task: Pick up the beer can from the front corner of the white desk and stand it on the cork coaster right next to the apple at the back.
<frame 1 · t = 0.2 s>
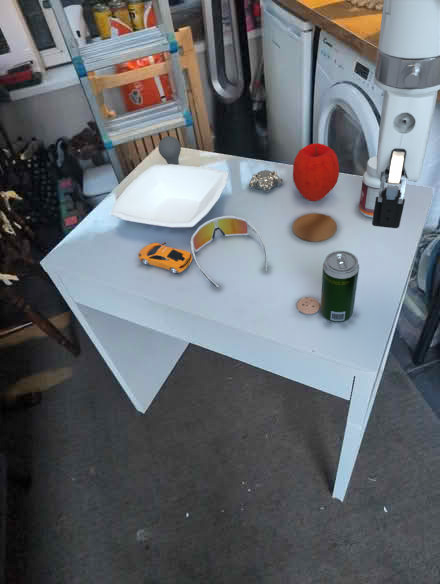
hand: (388, 202, 57), 22 cm above the table, tool pointing down, fingers open, 9 cm apart
pill bottle: (373, 210, 92), on the table
light bulb: (175, 174, 113), on the table
sunglasses: (229, 257, 88), on the table
coaster: (314, 228, 90), on the table
ornament: (265, 188, 103), on the table
beer can: (336, 313, 74), on the table
bowl: (176, 213, 101), on the table
toy car: (165, 262, 89), on the table
cookie: (308, 307, 76), on the table
apple: (314, 197, 98), on the table
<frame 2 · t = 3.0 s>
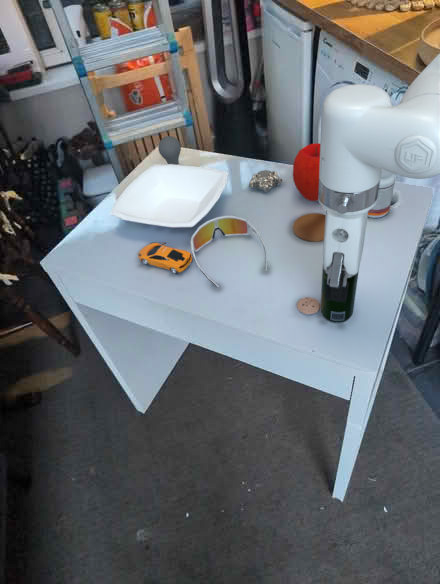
hand: (339, 284, 69), 7 cm above the table, tool pointing down, fingers closed on beer can, 5 cm apart
beer can: (336, 313, 74), on the table, touching gripper
everything else where it was.
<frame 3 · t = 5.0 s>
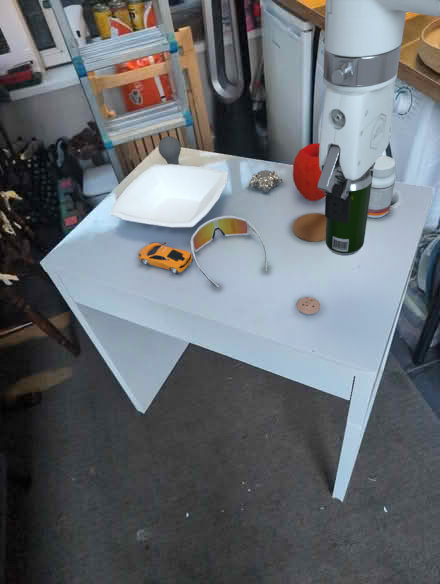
hand: (347, 205, 58), 22 cm above the table, tool pointing down, fingers closed on beer can, 5 cm apart
beer can: (344, 245, 63), point 15 cm above the table, touching gripper
everything else where it was.
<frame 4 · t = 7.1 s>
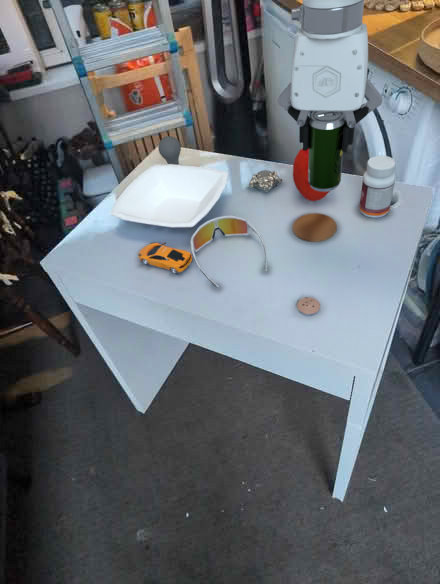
hand: (325, 146, 68), 23 cm above the table, tool pointing down, fingers closed on beer can, 5 cm apart
beer can: (324, 184, 74), point 16 cm above the table, touching gripper
everything else where it was.
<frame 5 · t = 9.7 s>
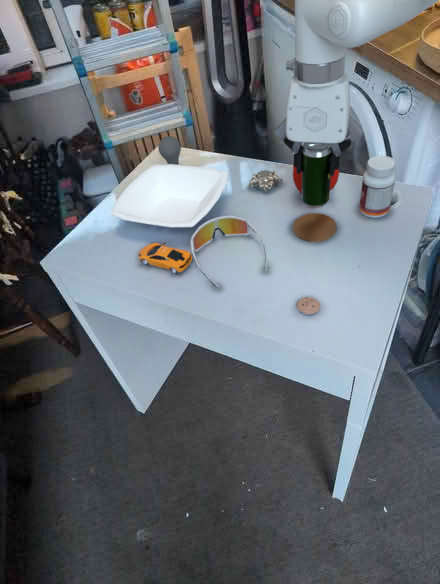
hand: (316, 170, 80), 14 cm above the table, tool pointing down, fingers closed on beer can, 5 cm apart
beer can: (315, 201, 85), point 7 cm above the table, touching gripper
everything else where it was.
when the fingers open (7 cm above the table, at t = 11.7 s): beer can stays where it is, resting on coaster.
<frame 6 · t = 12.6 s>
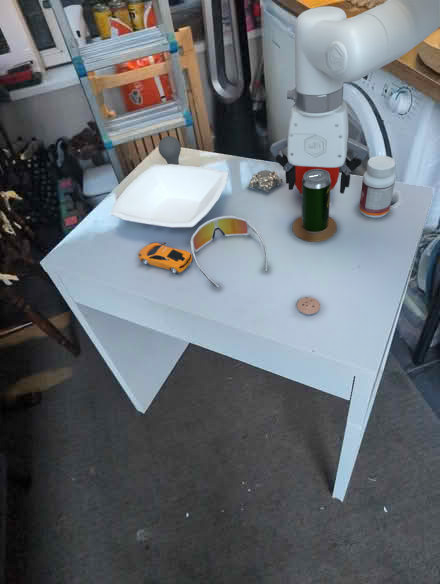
hand: (317, 187, 83), 10 cm above the table, tool pointing down, fingers open, 9 cm apart
beer can: (314, 227, 90), resting on coaster
everything else where it was.
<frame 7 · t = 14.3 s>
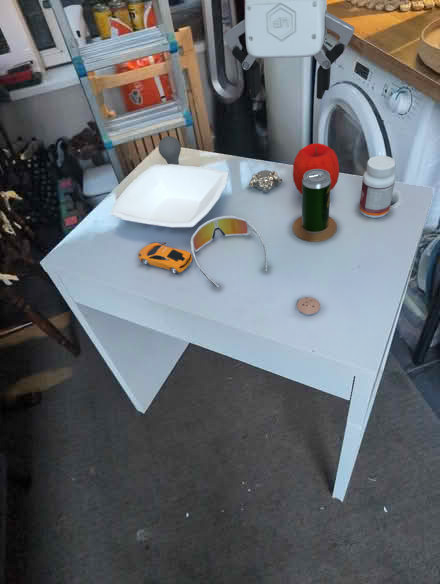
hand: (287, 94, 63), 31 cm above the table, tool pointing down, fingers open, 9 cm apart
nothing on the table moved.
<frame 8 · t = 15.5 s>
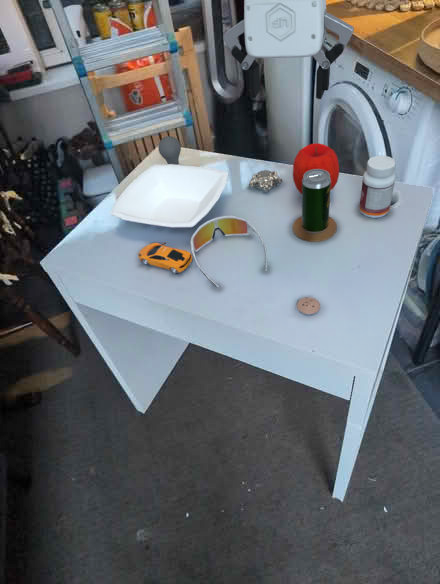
hand: (287, 94, 63), 31 cm above the table, tool pointing down, fingers open, 9 cm apart
nothing on the table moved.
at the end: beer can 11.3 cm from the apple (horizontally); beer can 0.1 cm off-centre on the coaster, point 0.2 cm above the coaster's base; beer can tilted 0° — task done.
